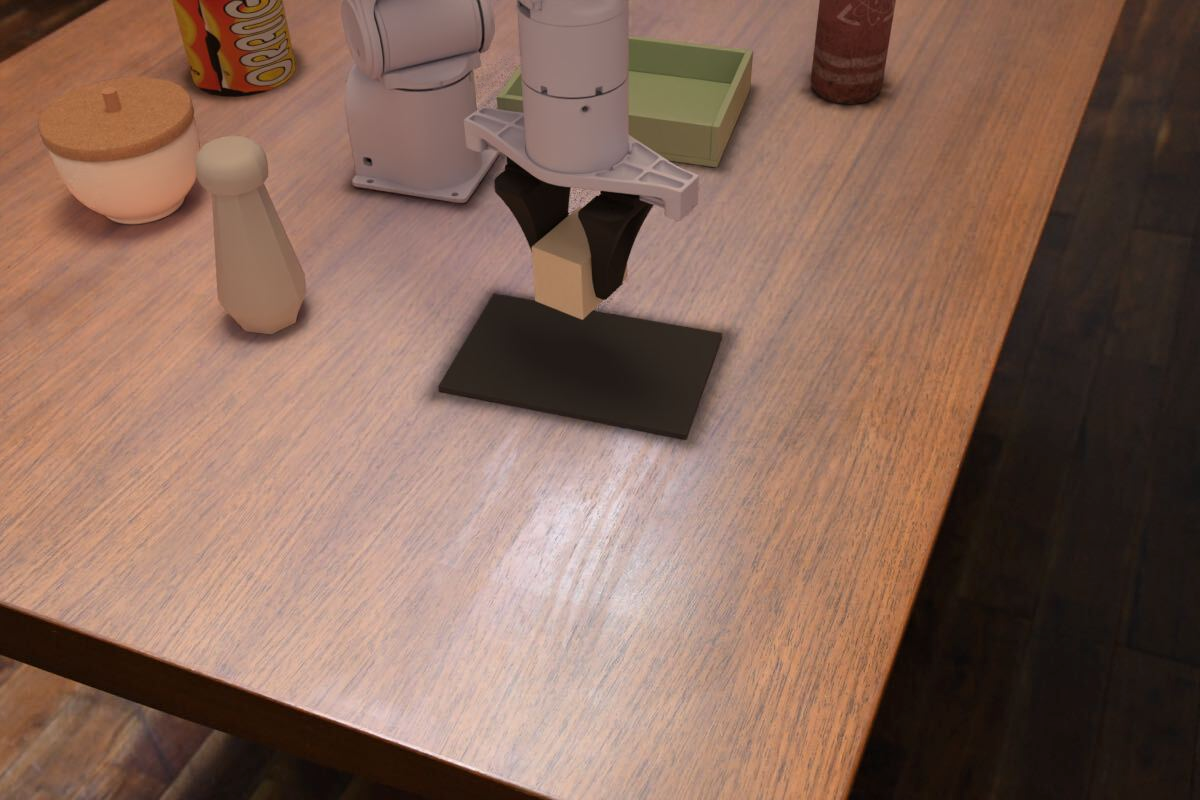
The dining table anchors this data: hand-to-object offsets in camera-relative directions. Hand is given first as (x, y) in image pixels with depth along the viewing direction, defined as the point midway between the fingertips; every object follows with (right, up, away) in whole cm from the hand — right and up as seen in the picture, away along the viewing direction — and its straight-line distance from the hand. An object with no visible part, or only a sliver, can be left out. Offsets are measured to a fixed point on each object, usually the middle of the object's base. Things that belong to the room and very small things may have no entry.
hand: (581, 279), depth 73 cm
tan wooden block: (0, -1, +1) cm, 1 cm away
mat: (0, -5, +4) cm, 7 cm away
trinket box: (-34, +8, +19) cm, 40 cm away
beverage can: (-31, +22, +35) cm, 51 cm away
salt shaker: (-21, -2, +9) cm, 23 cm away
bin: (+3, +17, +28) cm, 33 cm away
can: (+22, +19, +31) cm, 43 cm away
